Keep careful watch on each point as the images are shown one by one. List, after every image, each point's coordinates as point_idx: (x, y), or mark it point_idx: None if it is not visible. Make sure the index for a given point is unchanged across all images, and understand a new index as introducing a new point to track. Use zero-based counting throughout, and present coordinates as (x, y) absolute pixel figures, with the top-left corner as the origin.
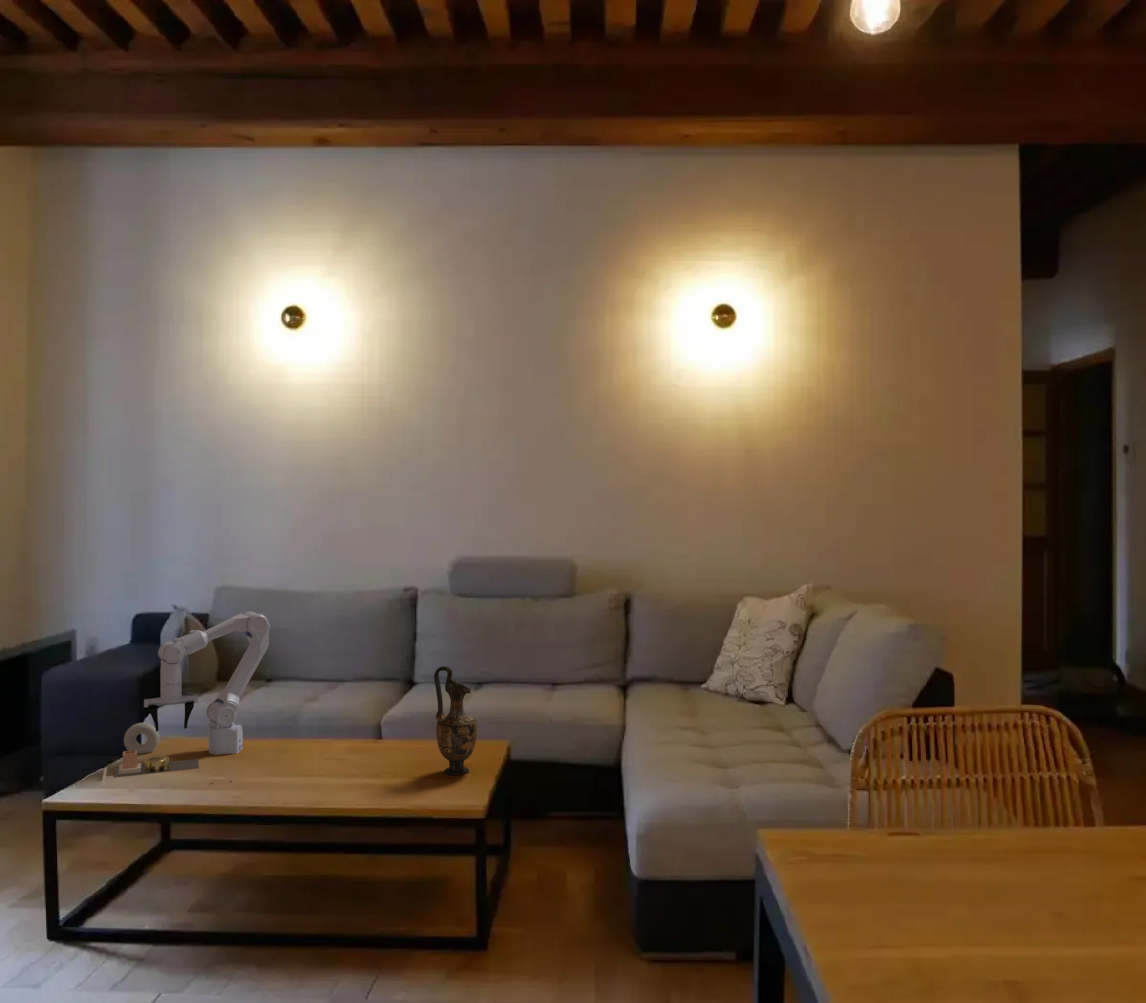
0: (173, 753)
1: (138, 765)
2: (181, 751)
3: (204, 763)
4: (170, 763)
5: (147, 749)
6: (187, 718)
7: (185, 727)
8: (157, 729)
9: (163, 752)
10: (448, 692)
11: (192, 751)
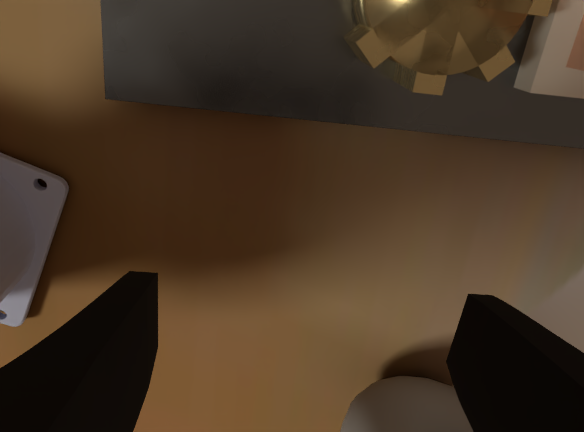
0: (254, 361)
1: (575, 9)
2: (208, 379)
3: (63, 37)
4: (313, 69)
5: (404, 388)
6: (54, 347)
7: (137, 275)
8: (490, 304)
9: (301, 397)
10: None
11: None
